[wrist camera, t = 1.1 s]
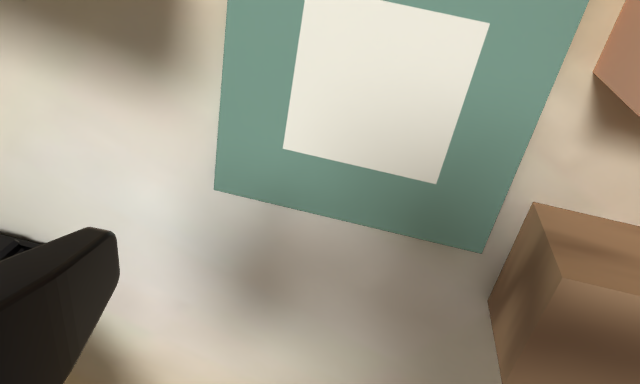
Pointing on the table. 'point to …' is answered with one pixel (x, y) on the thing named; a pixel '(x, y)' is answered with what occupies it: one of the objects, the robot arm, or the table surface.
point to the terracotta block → (623, 57)
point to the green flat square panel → (387, 107)
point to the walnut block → (569, 301)
